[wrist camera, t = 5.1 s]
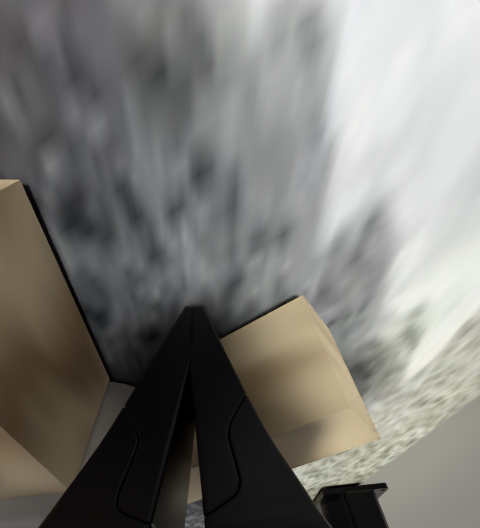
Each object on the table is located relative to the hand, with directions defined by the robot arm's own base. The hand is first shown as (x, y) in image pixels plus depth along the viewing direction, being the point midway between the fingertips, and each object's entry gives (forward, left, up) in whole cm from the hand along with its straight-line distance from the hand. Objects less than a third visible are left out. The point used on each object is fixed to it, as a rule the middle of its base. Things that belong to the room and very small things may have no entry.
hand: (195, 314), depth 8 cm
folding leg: (-3, -2, -1) cm, 4 cm away
